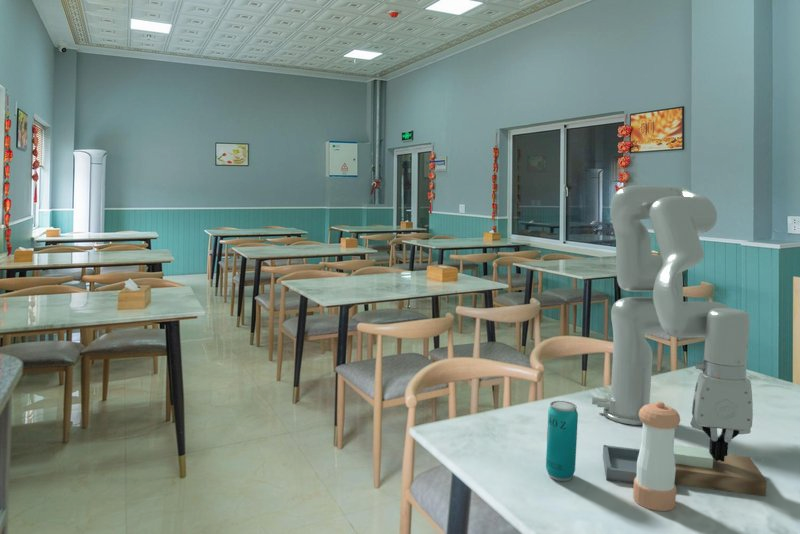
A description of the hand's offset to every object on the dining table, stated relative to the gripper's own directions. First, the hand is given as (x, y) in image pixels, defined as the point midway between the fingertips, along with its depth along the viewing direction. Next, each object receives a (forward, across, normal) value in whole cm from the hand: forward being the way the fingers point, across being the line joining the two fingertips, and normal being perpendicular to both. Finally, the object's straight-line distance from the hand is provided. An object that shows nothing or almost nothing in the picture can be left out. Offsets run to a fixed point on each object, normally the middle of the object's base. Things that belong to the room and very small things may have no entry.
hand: (717, 458), depth 117 cm
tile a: (+1, -4, 0) cm, 4 cm away
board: (+4, -1, 0) cm, 4 cm away
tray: (+4, -15, -2) cm, 16 cm away
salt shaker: (+4, -14, -14) cm, 20 cm away
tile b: (+1, -9, 0) cm, 9 cm away
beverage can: (+4, -31, -9) cm, 32 cm away
